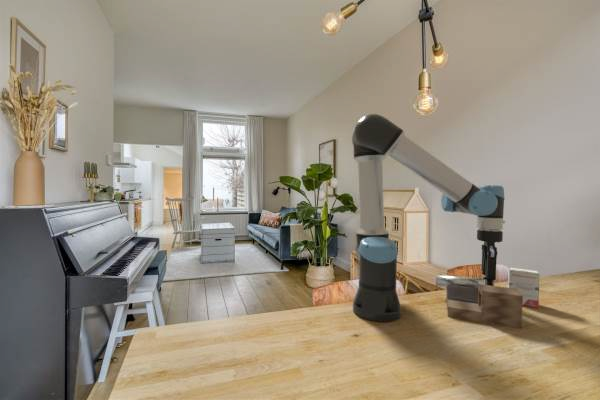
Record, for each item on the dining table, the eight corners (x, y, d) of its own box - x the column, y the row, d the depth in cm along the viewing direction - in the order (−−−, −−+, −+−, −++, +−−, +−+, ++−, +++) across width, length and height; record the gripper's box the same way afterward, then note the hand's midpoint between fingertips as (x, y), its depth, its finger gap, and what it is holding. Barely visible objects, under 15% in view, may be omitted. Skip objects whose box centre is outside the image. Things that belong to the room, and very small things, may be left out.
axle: (436, 287, 108) (435, 276, 108) (435, 283, 111) (435, 273, 111) (493, 292, 100) (493, 281, 100) (491, 288, 104) (491, 277, 104)
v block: (447, 301, 105) (447, 284, 105) (446, 295, 111) (446, 279, 111) (479, 306, 101) (480, 289, 101) (476, 299, 107) (477, 283, 107)
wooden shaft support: (447, 316, 92) (448, 286, 92) (446, 308, 99) (447, 280, 98) (521, 328, 85) (522, 296, 84) (514, 319, 91) (516, 288, 91)
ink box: (536, 303, 104) (538, 270, 104) (538, 308, 100) (540, 273, 100) (507, 298, 109) (508, 266, 109) (507, 302, 105) (509, 269, 104)
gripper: (508, 233, 93) (505, 306, 94) (497, 227, 108) (495, 290, 109) (481, 231, 96) (478, 302, 97) (474, 226, 111) (471, 287, 112)
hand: (487, 295), depth 103 cm, fingers closed on axle, 4 cm apart
